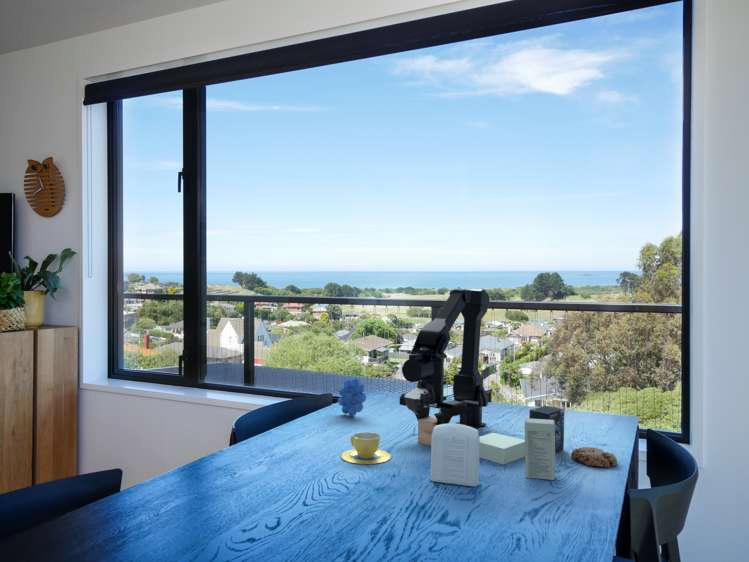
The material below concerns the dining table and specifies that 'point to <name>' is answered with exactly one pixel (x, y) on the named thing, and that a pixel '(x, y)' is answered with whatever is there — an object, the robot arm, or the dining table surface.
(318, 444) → the dining table surface
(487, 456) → the sage base block
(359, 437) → the cup
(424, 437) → the terracotta block
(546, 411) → the box
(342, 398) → the grapes
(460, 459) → the white gravestone
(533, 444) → the skincare box
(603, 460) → the cookie
